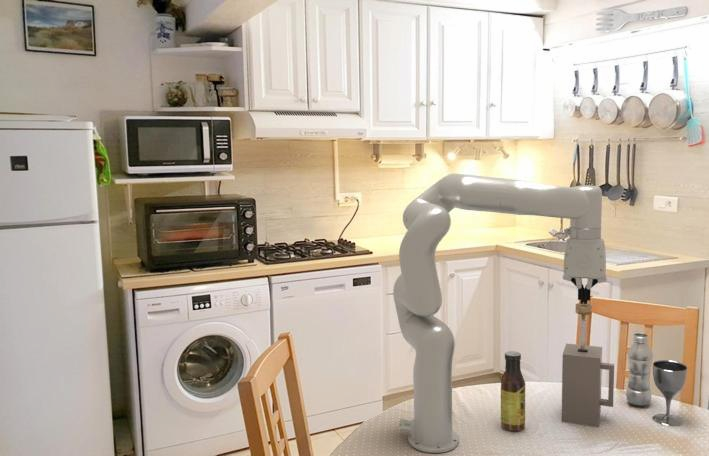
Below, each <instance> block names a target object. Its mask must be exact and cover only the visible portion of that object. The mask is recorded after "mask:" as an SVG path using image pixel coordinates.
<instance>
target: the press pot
mask: <svg viewBox="0 0 709 456" xmlns="http://www.w3.org/2000/svg"><path fill="white" fill-rule="evenodd" d="M561 362H562V363H561V364H562V369H561V422H563V423H569V424H575V425H581V426H582V425H583V426H588V427H594V428H599V426H600V421H601V420H600V419H601V412H602V411H601V410H602V409H601V408H602V406H604V407H611V408H613V407H614V396H615V395H614V392H615V390H614V387H615V386H614V385H615V363H610V362H603V346H597V345H595V346H594V345H586V344H585V352H580V344H575V343H567V342H566V343H565V346H564V349H563V351H562V361H561ZM602 370H607V371H608V393H607V396H608V397H607V398H608V399H607V398H602V375H603V374H602Z"/></svg>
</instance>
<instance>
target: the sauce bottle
mask: <svg viewBox="0 0 709 456" xmlns="http://www.w3.org/2000/svg"><path fill="white" fill-rule="evenodd" d="M521 355H522V354H521V353H520V352H518V351H514V350H513V351H511V350H509V351H506V352H505V353H504V360H505V367H504V369H505V371H504V373H503V374H502V375H501V377H500V386H501V387H500V421H501V422H500V424H501V427H502V428H503V429H504V430H505V431H506V430H507V431H510V432H511V431H512V432H520V431H522V430H524V428H525V425H526V382H525V378H524V376H523V373H522V370H521V360H522V356H521Z"/></svg>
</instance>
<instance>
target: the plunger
mask: <svg viewBox="0 0 709 456" xmlns="http://www.w3.org/2000/svg"><path fill="white" fill-rule="evenodd" d="M575 313H576V314H578V315H580V342H579V343H580V344H579V345H580V352H585V345H586V328H587V316H588V315H591V314H592V313H593V305H592V304H591V303H587V304H584V303H583V304H580V302H579V303H575Z"/></svg>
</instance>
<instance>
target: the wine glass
mask: <svg viewBox="0 0 709 456" xmlns="http://www.w3.org/2000/svg"><path fill="white" fill-rule="evenodd" d="M652 363H653V364H652V376H653V377H652V378H653V382H654V384H655V386H656V388H657V389H658V390H659V392H660V393H661V394H662V395H663V398H664V399H665V405H666V406H665V408H666V411H665V413H657V414H655V415H653V416H652V419H653V421H654V422H656V423H657V424H660V425H663V426H667V427H678V426H681V425H683V423H684V421H683V420H682V419H681V418H680V417H679V416H676V415H673V414H670V411H671V404H672V400H673V398H674V397H675V396H677V394H679V393H680V392H682V390H683V389H684V387H685V384H686V380H687V376H688V366H687V365H685V364H684V363H681V362H679V361H675V360H667V359H662V360H661V359H660V360H656V361H654V362H652Z"/></svg>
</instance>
